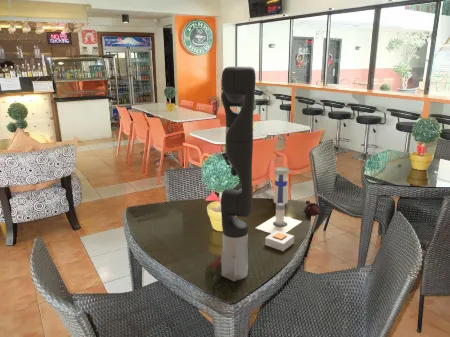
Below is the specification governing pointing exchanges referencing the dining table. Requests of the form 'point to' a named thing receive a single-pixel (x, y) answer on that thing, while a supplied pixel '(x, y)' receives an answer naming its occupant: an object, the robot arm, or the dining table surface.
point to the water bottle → (281, 185)
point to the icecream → (312, 209)
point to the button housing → (279, 241)
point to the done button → (280, 236)
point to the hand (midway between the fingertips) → (234, 175)
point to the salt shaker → (280, 214)
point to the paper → (271, 225)
